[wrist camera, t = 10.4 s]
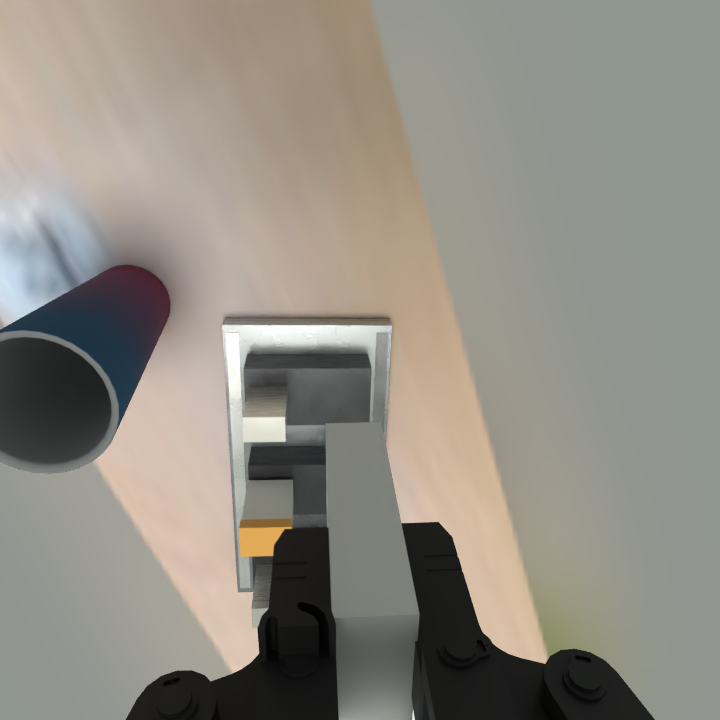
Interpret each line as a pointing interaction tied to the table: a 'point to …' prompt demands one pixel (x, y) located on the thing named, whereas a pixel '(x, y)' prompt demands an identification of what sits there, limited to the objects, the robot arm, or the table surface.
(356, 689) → the robot arm
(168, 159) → the table surface
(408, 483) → the table surface
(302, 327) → the panel
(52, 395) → the cup
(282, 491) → the handle
